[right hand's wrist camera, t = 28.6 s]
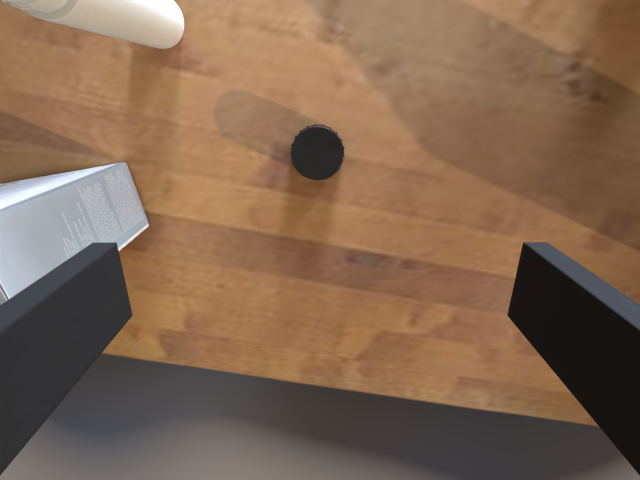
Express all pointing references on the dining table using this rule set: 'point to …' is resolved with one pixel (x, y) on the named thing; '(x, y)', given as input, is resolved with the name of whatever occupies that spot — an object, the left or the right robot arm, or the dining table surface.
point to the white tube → (114, 18)
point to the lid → (317, 152)
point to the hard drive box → (63, 220)
